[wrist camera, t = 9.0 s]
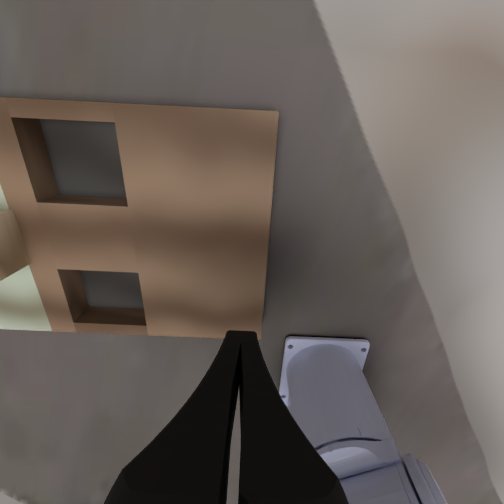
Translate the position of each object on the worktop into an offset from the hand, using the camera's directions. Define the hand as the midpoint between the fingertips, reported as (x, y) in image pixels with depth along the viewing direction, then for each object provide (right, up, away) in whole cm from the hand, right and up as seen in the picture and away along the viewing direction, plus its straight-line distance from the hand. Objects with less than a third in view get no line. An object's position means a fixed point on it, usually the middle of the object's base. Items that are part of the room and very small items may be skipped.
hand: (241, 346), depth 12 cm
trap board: (-10, +6, +8) cm, 14 cm away
